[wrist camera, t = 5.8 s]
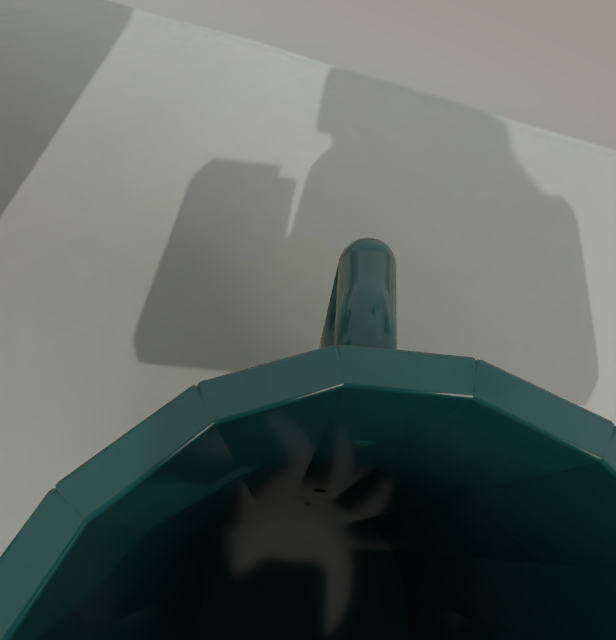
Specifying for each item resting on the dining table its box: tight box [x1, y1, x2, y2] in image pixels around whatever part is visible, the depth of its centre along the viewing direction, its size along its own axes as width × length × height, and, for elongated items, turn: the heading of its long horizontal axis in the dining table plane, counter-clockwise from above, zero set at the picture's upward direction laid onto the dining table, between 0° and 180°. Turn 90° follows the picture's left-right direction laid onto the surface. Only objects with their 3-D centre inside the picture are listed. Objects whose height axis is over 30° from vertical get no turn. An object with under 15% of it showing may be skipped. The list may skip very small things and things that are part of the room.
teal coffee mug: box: [0, 238, 616, 640], centre depth 9 cm, size 10×7×12 cm
